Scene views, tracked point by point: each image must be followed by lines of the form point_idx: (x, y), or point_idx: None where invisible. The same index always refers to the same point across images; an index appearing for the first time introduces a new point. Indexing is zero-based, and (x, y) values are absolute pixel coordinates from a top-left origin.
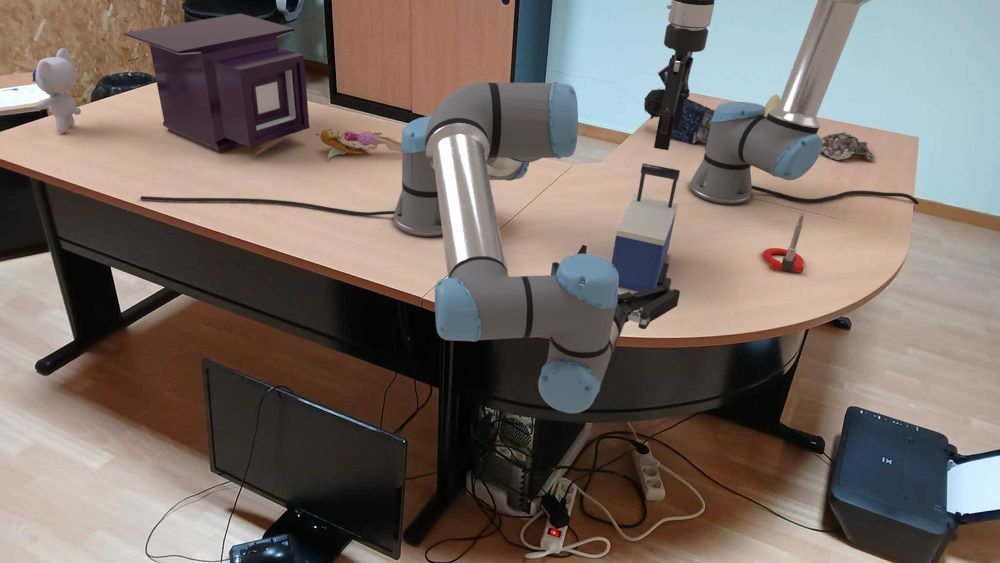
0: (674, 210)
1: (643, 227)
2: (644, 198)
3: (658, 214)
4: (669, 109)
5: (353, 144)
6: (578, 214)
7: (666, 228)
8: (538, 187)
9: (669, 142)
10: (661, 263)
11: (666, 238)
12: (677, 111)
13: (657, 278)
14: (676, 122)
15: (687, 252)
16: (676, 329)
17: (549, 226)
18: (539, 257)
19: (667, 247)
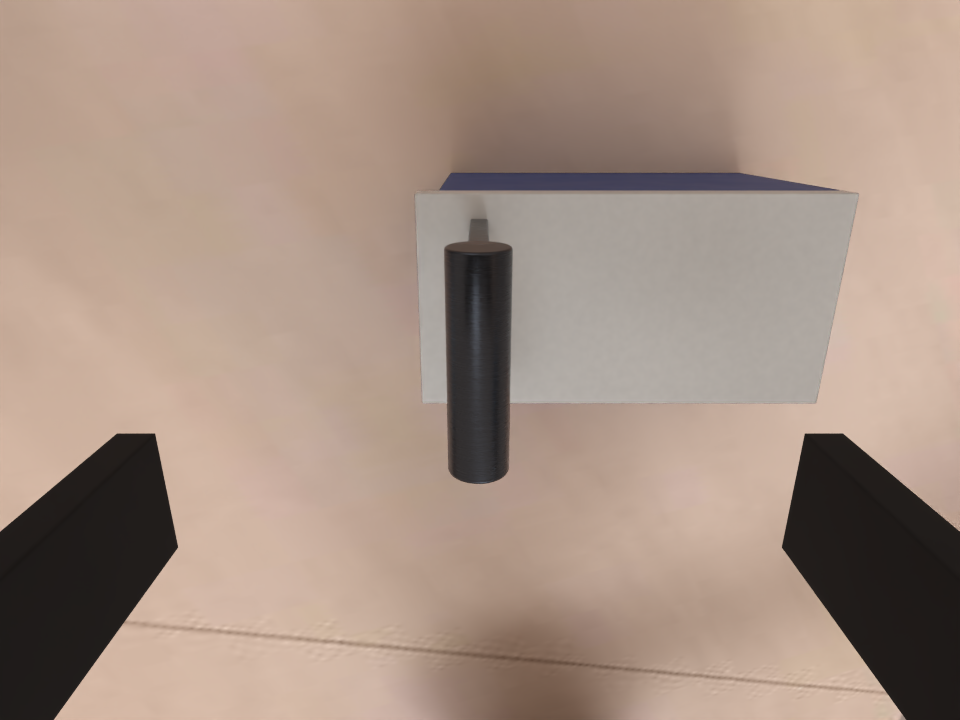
0: (510, 198)
1: (754, 306)
2: (441, 356)
3: (589, 265)
4: (76, 671)
5: None
6: (303, 504)
7: (730, 204)
8: (190, 648)
9: (889, 476)
10: (691, 179)
11: (744, 189)
12: (59, 582)
13: (729, 176)
14: (131, 488)
15: (383, 99)
16: (940, 59)
17: (432, 557)
18: (632, 532)
19: (524, 178)
